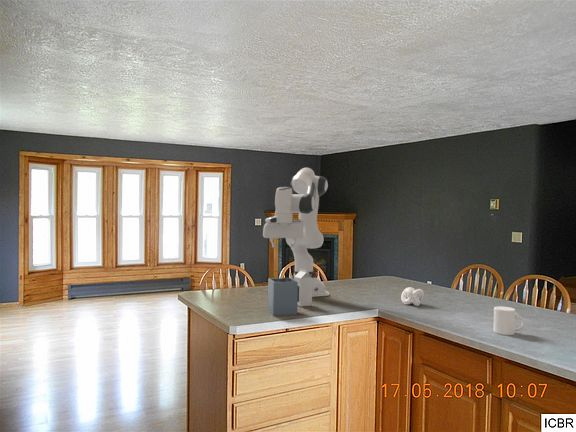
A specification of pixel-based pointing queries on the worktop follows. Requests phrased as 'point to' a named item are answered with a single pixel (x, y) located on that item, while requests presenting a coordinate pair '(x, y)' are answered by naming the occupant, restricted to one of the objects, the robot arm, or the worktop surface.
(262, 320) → the worktop surface
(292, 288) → the dark grey upright box
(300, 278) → the milk carton
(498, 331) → the mug
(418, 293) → the white knot
